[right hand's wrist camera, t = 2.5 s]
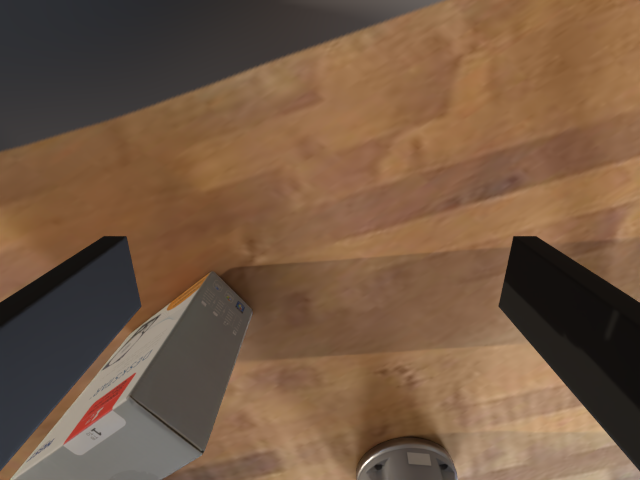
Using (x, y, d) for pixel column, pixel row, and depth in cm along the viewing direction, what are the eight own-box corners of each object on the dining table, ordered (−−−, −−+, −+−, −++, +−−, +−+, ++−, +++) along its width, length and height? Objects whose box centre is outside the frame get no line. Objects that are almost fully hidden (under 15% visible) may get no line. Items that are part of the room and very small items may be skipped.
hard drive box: (212, 267, 43) (132, 394, 25) (255, 310, 45) (210, 456, 27) (127, 333, 47) (0, 488, 28) (170, 370, 49) (79, 536, 30)
